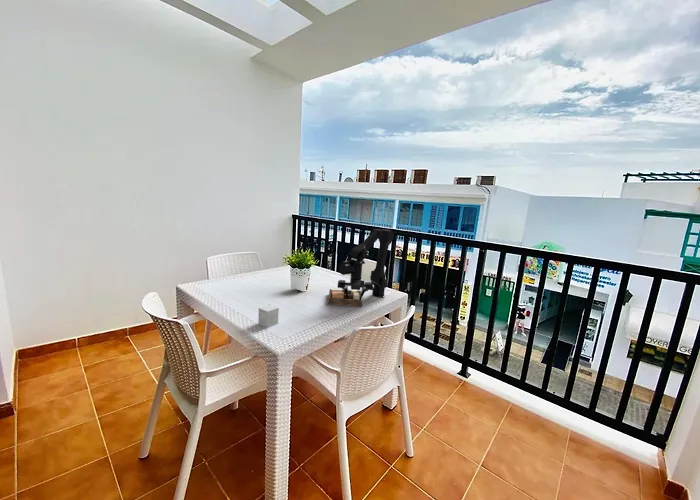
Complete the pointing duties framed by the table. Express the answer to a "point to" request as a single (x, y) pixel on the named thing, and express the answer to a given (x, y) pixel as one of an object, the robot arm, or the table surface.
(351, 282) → the robot arm
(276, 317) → the product box
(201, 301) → the table surface
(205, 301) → the table surface
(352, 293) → the cream white block dumbbell
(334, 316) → the table surface
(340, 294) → the cream orange dumbbell block
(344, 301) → the lane rack
